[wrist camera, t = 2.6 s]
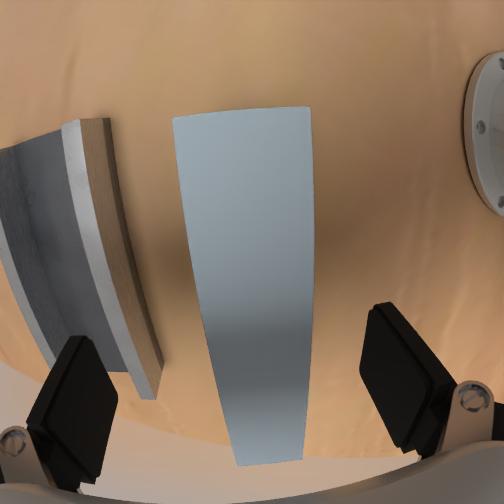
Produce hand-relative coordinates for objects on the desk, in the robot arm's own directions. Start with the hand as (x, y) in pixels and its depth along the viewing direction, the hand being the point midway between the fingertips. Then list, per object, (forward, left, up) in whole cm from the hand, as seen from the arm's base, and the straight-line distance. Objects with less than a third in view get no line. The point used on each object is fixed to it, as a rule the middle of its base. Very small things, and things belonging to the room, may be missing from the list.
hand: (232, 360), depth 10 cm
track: (+9, 0, -8) cm, 12 cm away
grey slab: (-1, 0, -8) cm, 8 cm away
